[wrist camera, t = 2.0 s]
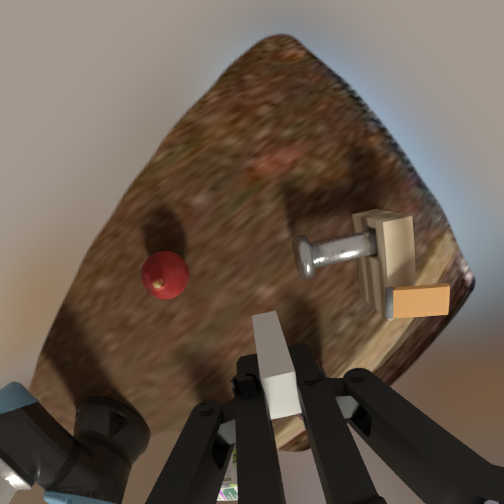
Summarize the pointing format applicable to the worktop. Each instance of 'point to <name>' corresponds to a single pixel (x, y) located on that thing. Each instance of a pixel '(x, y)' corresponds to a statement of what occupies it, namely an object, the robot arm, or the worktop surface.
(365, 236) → the pin
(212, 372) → the worktop surface
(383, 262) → the block
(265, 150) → the worktop surface
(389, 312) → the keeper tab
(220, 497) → the syrup box
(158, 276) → the onion
